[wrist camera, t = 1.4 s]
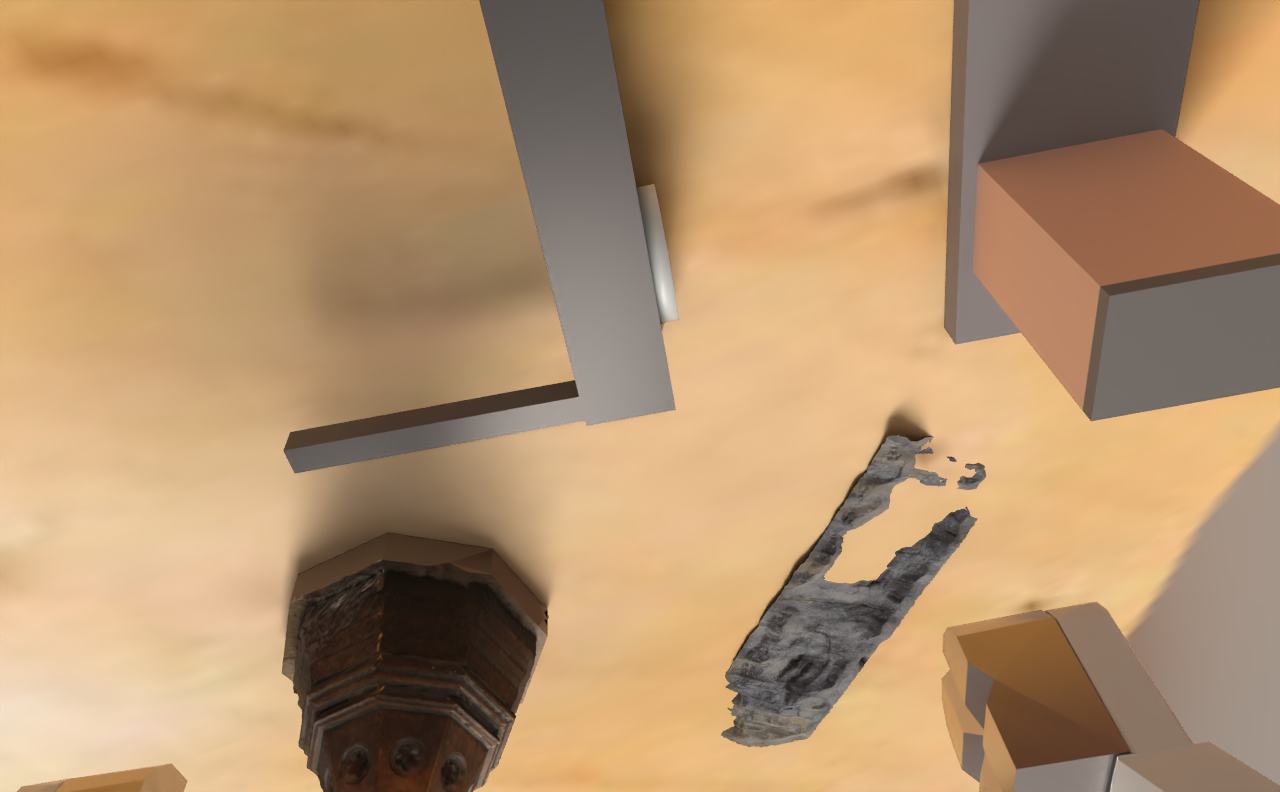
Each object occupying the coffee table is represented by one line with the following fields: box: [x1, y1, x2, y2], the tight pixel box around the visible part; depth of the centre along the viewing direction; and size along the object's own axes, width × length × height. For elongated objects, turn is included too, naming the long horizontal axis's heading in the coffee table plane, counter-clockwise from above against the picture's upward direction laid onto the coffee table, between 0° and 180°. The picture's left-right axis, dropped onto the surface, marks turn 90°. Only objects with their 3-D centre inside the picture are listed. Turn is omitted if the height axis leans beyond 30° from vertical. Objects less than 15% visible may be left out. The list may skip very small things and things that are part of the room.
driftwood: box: [721, 435, 986, 747], centre depth 44 cm, size 21×7×2 cm, turn 157°
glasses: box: [284, 0, 678, 473], centre depth 27 cm, size 14×20×5 cm
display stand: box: [944, 0, 1280, 421], centre depth 24 cm, size 7×24×10 cm, turn 9°
